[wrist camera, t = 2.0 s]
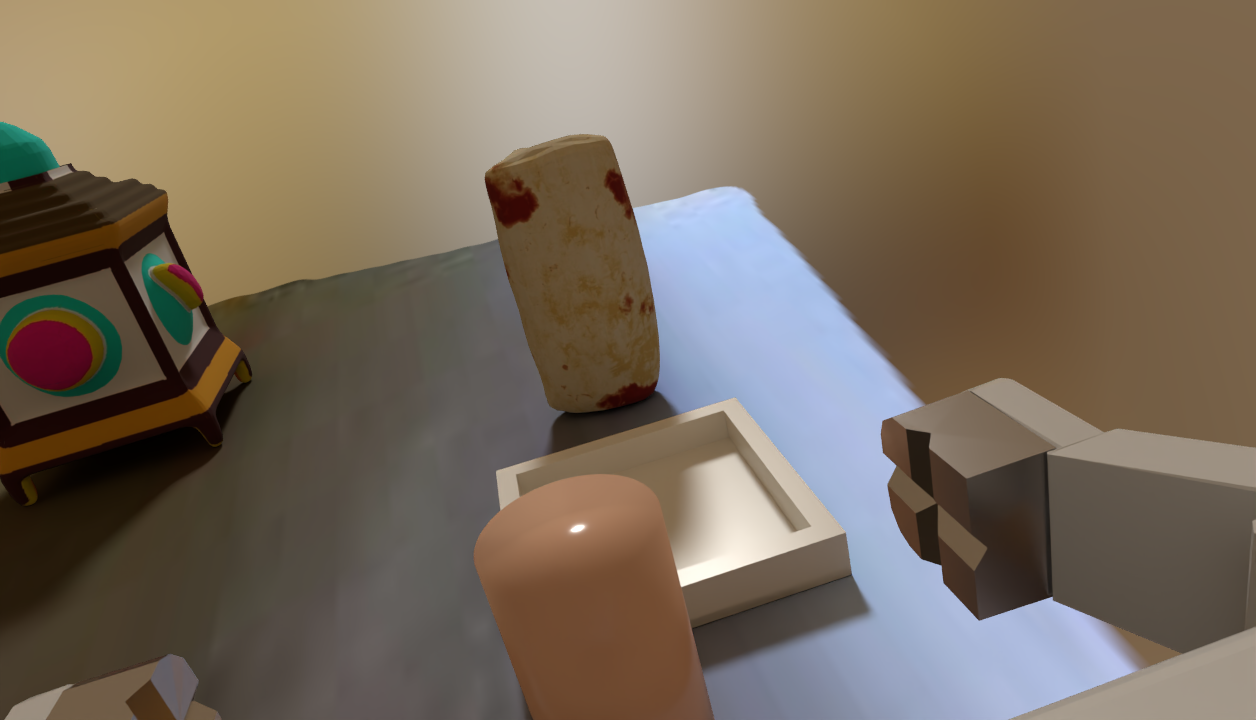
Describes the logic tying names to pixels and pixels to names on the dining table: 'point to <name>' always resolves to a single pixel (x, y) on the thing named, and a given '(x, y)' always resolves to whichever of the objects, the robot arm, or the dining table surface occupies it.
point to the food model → (577, 272)
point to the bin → (713, 506)
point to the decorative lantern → (95, 319)
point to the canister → (592, 603)
